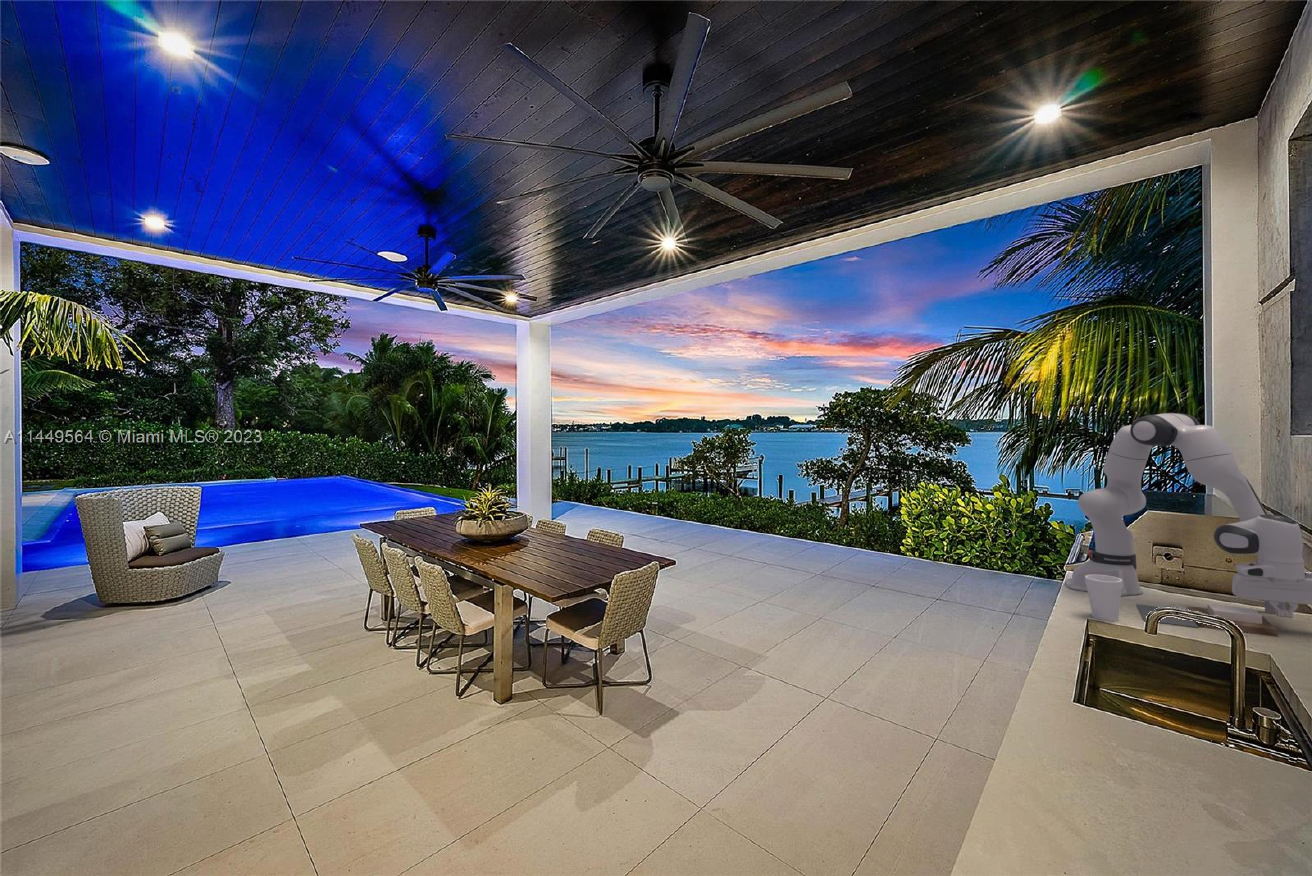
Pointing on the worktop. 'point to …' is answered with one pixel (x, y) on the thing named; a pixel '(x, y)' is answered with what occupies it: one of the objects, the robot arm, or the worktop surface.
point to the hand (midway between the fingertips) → (1284, 616)
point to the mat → (1168, 620)
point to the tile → (1235, 613)
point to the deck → (1243, 624)
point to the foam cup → (1104, 596)
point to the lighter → (1271, 609)
